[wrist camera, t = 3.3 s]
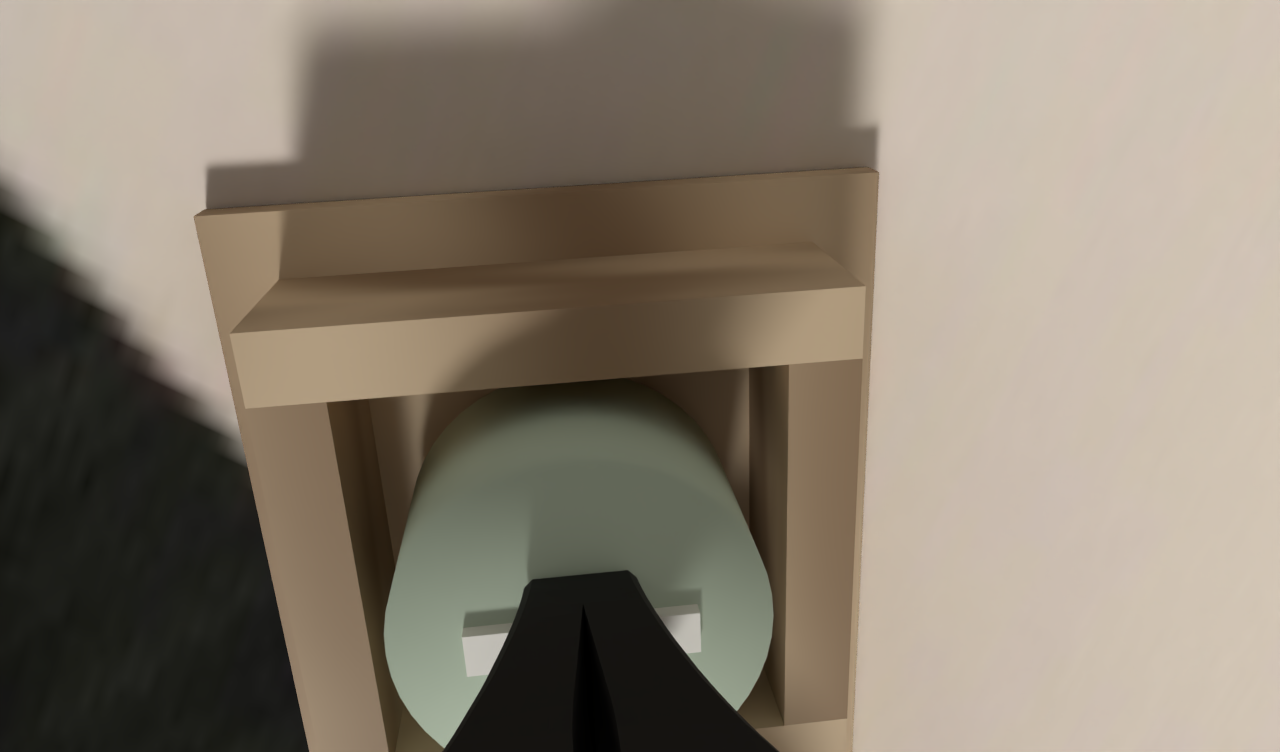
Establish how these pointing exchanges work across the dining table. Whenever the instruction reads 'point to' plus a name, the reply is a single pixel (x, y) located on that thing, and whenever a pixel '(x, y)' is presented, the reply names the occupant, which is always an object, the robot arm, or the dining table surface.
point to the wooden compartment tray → (548, 354)
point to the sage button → (569, 537)
